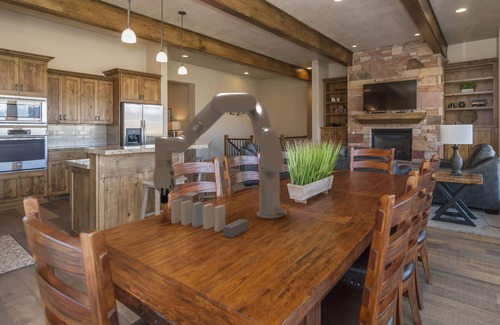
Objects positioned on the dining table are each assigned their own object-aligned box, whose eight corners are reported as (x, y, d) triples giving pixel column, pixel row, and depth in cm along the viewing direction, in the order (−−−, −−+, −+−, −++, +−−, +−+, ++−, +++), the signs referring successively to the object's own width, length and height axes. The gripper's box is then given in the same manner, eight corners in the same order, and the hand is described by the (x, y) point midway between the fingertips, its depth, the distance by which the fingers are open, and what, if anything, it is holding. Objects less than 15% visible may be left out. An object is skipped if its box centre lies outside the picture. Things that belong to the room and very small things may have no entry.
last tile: (225, 228, 130) (225, 205, 129) (218, 231, 126) (218, 207, 125) (221, 227, 131) (221, 204, 130) (214, 231, 127) (214, 207, 126)
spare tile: (192, 226, 133) (191, 203, 132) (199, 223, 137) (199, 201, 136) (195, 227, 132) (195, 204, 131) (203, 224, 136) (202, 202, 135)
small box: (193, 217, 148) (192, 195, 146) (182, 217, 149) (181, 195, 148) (199, 213, 155) (198, 192, 154) (188, 212, 156) (188, 192, 155)
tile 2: (192, 222, 139) (191, 200, 138) (184, 225, 135) (184, 203, 134) (189, 222, 140) (188, 200, 139) (181, 224, 136) (180, 202, 135)
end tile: (182, 220, 142) (181, 199, 141) (174, 223, 138) (173, 201, 137) (179, 220, 143) (178, 198, 142) (171, 222, 139) (170, 201, 138)
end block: (248, 229, 129) (248, 220, 128) (232, 238, 119) (232, 227, 118) (239, 228, 131) (239, 218, 130) (223, 236, 120) (223, 226, 120)
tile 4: (213, 226, 133) (213, 203, 132) (206, 229, 129) (206, 206, 128) (210, 225, 134) (209, 203, 133) (202, 228, 130) (202, 205, 129)
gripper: (181, 163, 141) (182, 203, 143) (158, 162, 149) (159, 199, 150) (169, 165, 135) (170, 206, 136) (145, 163, 142) (146, 202, 144)
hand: (164, 202), depth 143 cm, fingers closed
